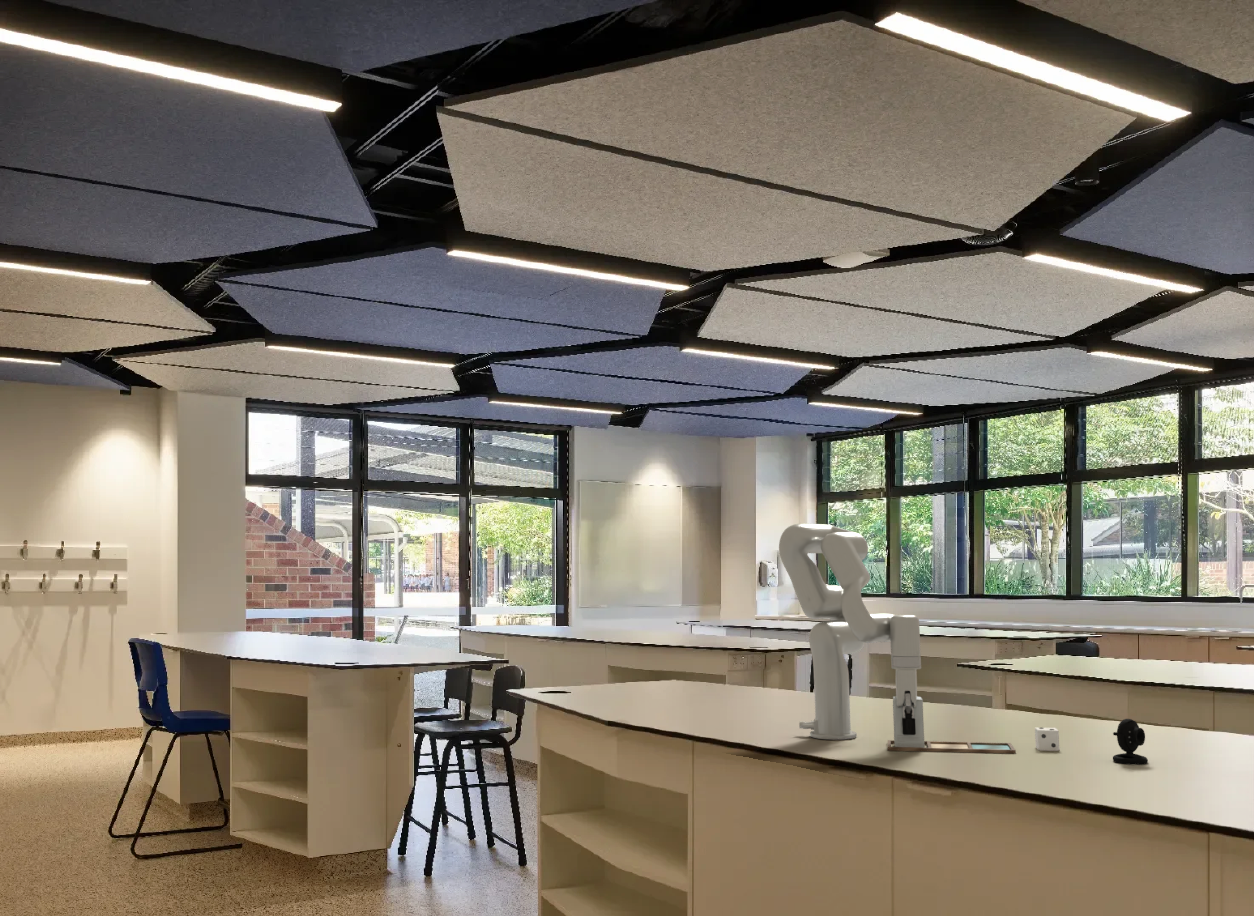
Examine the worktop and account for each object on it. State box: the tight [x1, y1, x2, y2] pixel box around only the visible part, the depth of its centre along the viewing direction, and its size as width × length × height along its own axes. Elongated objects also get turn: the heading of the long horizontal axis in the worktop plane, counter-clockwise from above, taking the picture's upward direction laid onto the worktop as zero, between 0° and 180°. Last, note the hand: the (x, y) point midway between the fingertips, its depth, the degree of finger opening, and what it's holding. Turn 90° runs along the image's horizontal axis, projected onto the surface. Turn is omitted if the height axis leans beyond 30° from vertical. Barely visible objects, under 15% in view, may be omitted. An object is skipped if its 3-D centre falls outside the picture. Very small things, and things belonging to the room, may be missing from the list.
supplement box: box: [892, 696, 926, 748], centre depth 280 cm, size 7×7×13 cm
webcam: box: [1112, 718, 1149, 766], centre depth 255 cm, size 8×8×10 cm
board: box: [887, 739, 1017, 755], centre depth 277 cm, size 31×12×1 cm, turn 77°
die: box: [1034, 726, 1061, 752], centre depth 275 cm, size 5×5×5 cm
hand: (908, 731), depth 280 cm, fingers closed on supplement box, 7 cm apart
